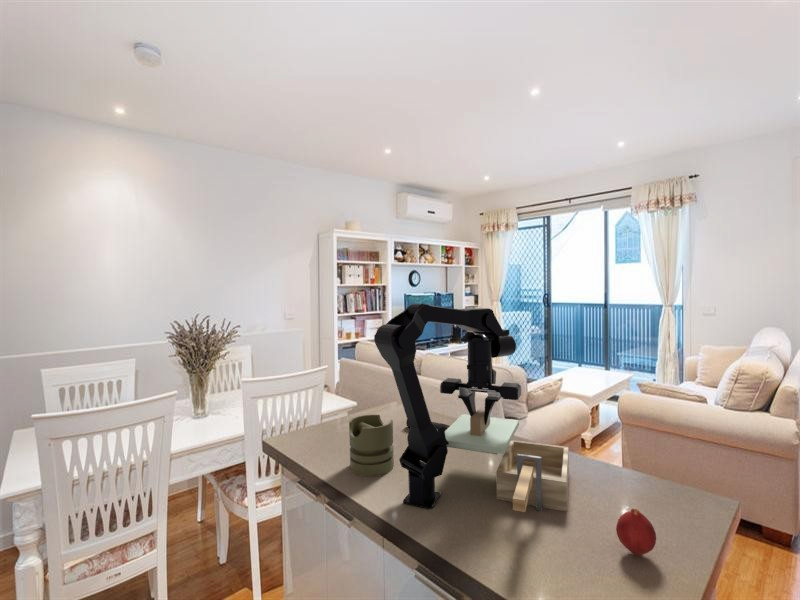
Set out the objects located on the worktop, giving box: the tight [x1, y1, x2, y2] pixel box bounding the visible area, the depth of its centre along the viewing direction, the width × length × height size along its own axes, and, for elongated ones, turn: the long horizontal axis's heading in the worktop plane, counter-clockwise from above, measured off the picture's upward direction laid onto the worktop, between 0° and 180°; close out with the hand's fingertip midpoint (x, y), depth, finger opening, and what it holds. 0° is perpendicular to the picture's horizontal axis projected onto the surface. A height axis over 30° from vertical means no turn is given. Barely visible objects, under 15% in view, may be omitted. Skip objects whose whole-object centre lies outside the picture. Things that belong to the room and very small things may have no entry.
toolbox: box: [495, 439, 570, 513], centre depth 93 cm, size 20×14×6 cm
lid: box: [445, 406, 520, 455], centre depth 98 cm, size 21×15×6 cm
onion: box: [615, 507, 657, 557], centre depth 68 cm, size 6×6×8 cm
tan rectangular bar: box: [512, 466, 533, 513], centre depth 75 cm, size 14×2×2 cm, turn 156°
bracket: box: [517, 454, 543, 512], centre depth 83 cm, size 1×5×11 cm, turn 66°
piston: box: [348, 414, 395, 478], centre depth 105 cm, size 11×12×11 cm
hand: (480, 423), depth 98 cm, fingers closed on lid, 2 cm apart
